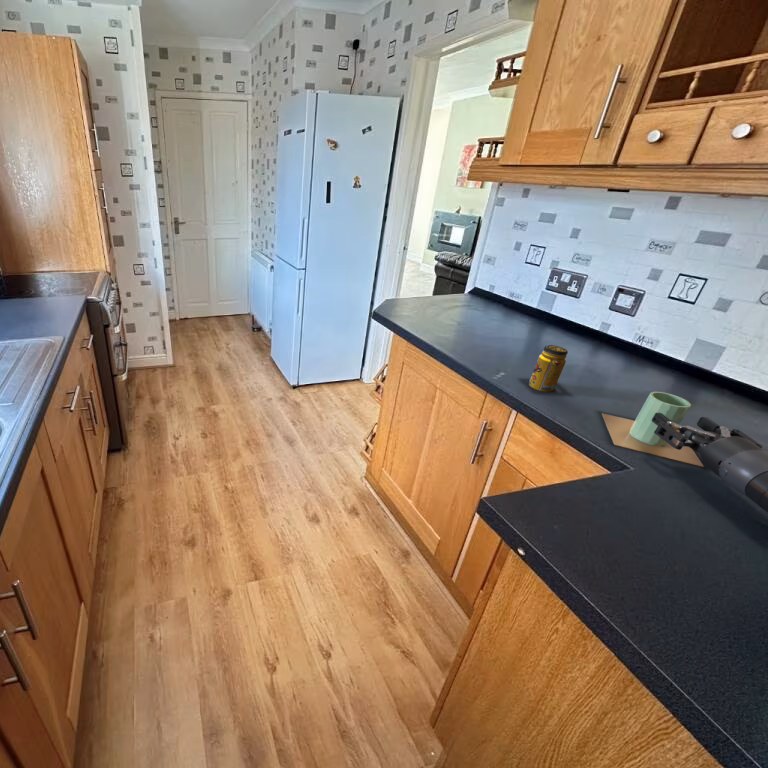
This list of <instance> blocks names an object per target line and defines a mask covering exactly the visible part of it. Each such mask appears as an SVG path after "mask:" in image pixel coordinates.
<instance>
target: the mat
mask: <svg viewBox="0 0 768 768" xmlns="http://www.w3.org/2000/svg"><path fill="white" fill-rule="evenodd" d="M601 416H602V418H603V421H604V423H605V425H606V428H607V431H608V433H609V435H610V438H611V441H612V443H613V445H614V446H619V447H622V448H626V449H631V450H634V451H638V452H641V453H642V452H643V453H645V454H646V453H647V454H649V455H650V454H651V455H654V456H658V457H662V458H667V459H670V460H674V461H678V462H682V463H686V464H691V465H694V466H699V467H703V468H705V465H704V464H703V462H702V460H700V458H699V457H698V456H697V454H696V453H695V452H696V451H695V450H693V449H691V448H690V447H687V446H683V447H682V449H681V450H678V449H675V448H674V447H672V446H671V445H670V444H668V443H667V445H665V446H655V445H650V444H647V443H644V442H642V441H639V440H638V439H636V438H634V437H633V436H632V435H631V434H630V433H629V431H630V429H631V427H632V425H633V423H634V421H635V420H633V419H629V418H625V417H621V416H615V415H612V414H607V413H603V412H602V413H601ZM676 431H678V432H679V431H680V430H679V429H676Z"/></svg>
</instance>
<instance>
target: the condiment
mask: <svg viewBox="0 0 768 768" xmlns="http://www.w3.org/2000/svg"><path fill="white" fill-rule="evenodd" d="M567 355H568V350H567V349H566V348H564V347H563V346H559V345H556V344H555V345H554V344H547V345H545V346H544V347H543V350H542V352H541V354H539V355H538V358H537V361H536V363H535V365H534V369H533V370H532V373H531V376H530V378H529V381H528V385H529V387H530V388H532V389H533V390H536V391H539V392H544V393H551V392H553V391H554V390H555V388H556V386H557V384H558V382H559V379H560V377H561V375H562V372H563V369H564V367H565V365H566V361H567V360H566V358H567Z"/></svg>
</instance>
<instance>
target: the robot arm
mask: <svg viewBox="0 0 768 768" xmlns="http://www.w3.org/2000/svg"><path fill="white" fill-rule="evenodd" d="M652 422H653V423H655V424H656V425H657V426H658V427H657V428H656V430H655V431H654V433H655V434H656V435H658V436H659V437H660V438H662V439H663V440H664V441H666V442H667V443H668V444H670V445H671V446H672V447H674V448H675V449H678V450H681V449H682V447H683V446H687V447H690V448H691V449H692V450H693V451H694V452H697V453H699V456H700V459H701V460H700V461H701V463H702V464H703V466H704V467H706V468H707V469H708V470H710V471H711V472H712V473H714V475H716V476H717V477H718V478H720V479H721V480H722V481H724V482H725V483H726V484H727V485H729V486H730V487H731V488H733V489H734V490H735V491H737V492H739V493H740V494H742V495H744V496H746V497H747V498H748V499H749V500H751V501H752V502H753V503H755V504H756V505H757V506H758V507H760V508H761V509H762V510H763V511H764V512H766V513H767V514H768V451H767V450H765V449H763V445H762V444H761V443H759V442H757V440H755V439H754V438H752V437H750V436H749V435H748V434H747V433H744V432H743V431H742V430H740V429H737V428H732V430H731V429H729V428H728V427H726V426H724V425H719V424H717V423H716V422H715V421H713V420H712V419H710V418H709V417H706V416H701V417H700V418H699V420H698V421H697V422H696V426H697V427H698V428H700V429H698V428H696V427H693V426H690V425H688V424H687V425H686V424H685V425H681V424H676V423H674V422H673V421H671V420H670V419H669V418H667V417H666V416H664V415H663V414H662V413H655V415H654V416H653V418H652ZM673 427H674V428H676V430H678V431H679V432H678V431H676V430H675V429H674V428H673ZM687 432H690V434H689V435H688V437H686V434H687Z"/></svg>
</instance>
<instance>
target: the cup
mask: <svg viewBox="0 0 768 768" xmlns="http://www.w3.org/2000/svg"><path fill="white" fill-rule="evenodd" d="M691 406H692V403H690V402H689V400H687V399H685V398H683V397H681V396H678V395H676V394H672V393H669V392H664V391H651V392H650V393H649V395H648V396H647V398H646V400H645V401H644V403H643V405H642V406H641V409H640V410H639V412H638V414H637V416H636V418H635V420H634V423H633V425H632V427H631V429H630V431H629V433H630V434H631V435H632V436H633V437H634V438H636V439H638V440H639V441H642V442H644V443H647V444H650V445H655V446H665V445H667V442H666V441H664V440H663V439H662V438H660V437H659V436H658V435H656V434H655V433H654V431H655V430H656V428H657V427H658V426H657V425H656V424H655V423H653V422H652V418H653V416H654V415H655V413H662V414H663V415H664V416H666V417H667V418H669V419H670V420H671V421H673V422H674V423H676V424H679V425H681V422H682V420H683V419H684V417H685V416H686V414H687V413H688V411H689V409H690V408H691ZM673 428H674V427H673ZM674 429H675V430H677V429H676V428H674Z"/></svg>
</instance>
